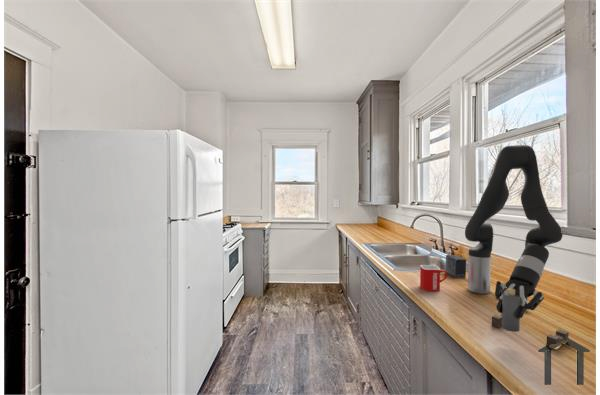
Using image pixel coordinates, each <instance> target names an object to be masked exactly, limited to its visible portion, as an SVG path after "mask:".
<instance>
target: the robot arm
mask: <svg viewBox="0 0 600 395" xmlns="http://www.w3.org/2000/svg"><path fill="white" fill-rule="evenodd" d="M518 169H520V170H521V171H522V173H523V175H524V183H523V187H522V190H521V194H520V202H521V206H522V208H523V211H524V215H525V217H526V219H527V220H529V221H536V222H537V224H538V226H535V227H532V228H531V229H530V230H529V231H528V232H527V234H526V235H525V243H524V250H523V251H522V252H521V256H520V258H519V259H518V260H517V262H516V264H515V266H514V268H513V270H512V272H511V274H510V277H509V278H508V279H509V280H507V281H506V282H501V281H499V280H498V281H496V283H495V284H496V285H495V291H494V296H495V297H496V299H497V300H498V302H497V304H496V306H495V307H496V310H497V312H498V313H499V314H501V313H502V298H503V295H502V290H504V288H505V287H506V288H507V289H506V290H505V291H504V293H508V288H512V289H515V294H517V295H519V296H520V304H521V305H520V306H519V307H518V309H517V311H516V313H515V317H516V318H517V319H520V320H521V319H522V318H523V317H524V315H525V312H526V311H527V310H530V311H534V310H535V309H536V308H537V307H538V306H539V305H540V304H541V303H542V302H543V301H544V299H545V296H544V295H543V293H542V292H541V291H536V288H537V286H538V284H539V282H540V280H541V278H542V276H543V272H544V269H545V266H546V263H547V261H548V259H549V256H550V252H549V250H548V249H547V248H546V246H548V245H552V244H556V243H559V242H561V241H562V239H563V235H564V233H563V232H562V233H563V234H562V233H561V229H562V228H561V227H562V226H561V225H560V224H559V223H558V221H556V219H555V218H554V216H553V215H552V214H551V213H550V211H549V208H548V205H547V202H546V199H545V197H544V195H543V190H542V186H541V185H542V184H541V179H540V172H539V166H538V159H537V155H536V151H535V150H534V148H533V147H532V146H531V145H528V144H520V145H519V144H518V145H507V146H504V147H502V148H501V149H500V152H498V156H497V158H496V160H495V164H494V166H493V171H492V173H491V175H490V178H489V179H488V180H489V181H488V182H487V185H486V187H485V189H484V191H483V193H482V195H481V197H480V200H479V203H478V205H477V206H476V209H475V211H474V213H473V214H472V216H471V217H470V219H469V220H468V222H467V223H466V227H465V230H464V236H465V239H466V240H467V241H469V242H473V243H474V242H476V243H478V244H476V245H475V246H473V247H469V249H468V258H467V259H468V260H467V262H468V263H467V265H468V268H467V269H468V270H467V290H468V291H469V292H472V293H476V294H479V295H480V294H481V295H485V294H490V293H491V279H492V278H491V257H492V256H491V254H492V251H493V244H494V227H493V225H492V224H491V223H490V222H487V221H488V220H489V219H491V218H493V217H494V216H495V215H496V214H498V213H499V212H500V211H502V209H504V206H505V205H506V203H507V201H508V199H509V197H510V190H509V187H508V184H507V178H508V176H509V173H510V172H511V171H512V170H518ZM531 296H533V297H532V298H531V299H530V300H529V301H528V299H529V297H531Z"/></svg>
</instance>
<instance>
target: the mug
mask: <svg viewBox="0 0 600 395" xmlns="http://www.w3.org/2000/svg"><path fill="white" fill-rule="evenodd" d="M419 267H420V268H419V269H420V274H419V275H420V277H419V278H420V279H419V280H420V281H419V282H420V283H419V284H420V285H419V286H420V288H421V289H422V291H424V290H425V292H440V291H441V289H440V288H441V283H442V282H444V281H445V280H446V279H447V278H448V277H447V275H448V274H447V272H446V269H445V270H444V269H441V268H440V267H439V266H438V265H435V264H433V265H432V264H420V265H419ZM441 273H444V277H443V278H441Z"/></svg>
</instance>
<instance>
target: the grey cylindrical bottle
mask: <svg viewBox="0 0 600 395" xmlns="http://www.w3.org/2000/svg"><path fill="white" fill-rule="evenodd" d="M519 306H520V296H519V295H517V294H515V289H512V288H508V293H503V298H502V327H501V329H503V330H505V331H508V332H512V333H513V332H514V333H517V332H520V321H521V318H520V319H517V318H516V317H515V313H516V311H517V309H518V307H519Z"/></svg>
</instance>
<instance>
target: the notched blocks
mask: <svg viewBox="0 0 600 395" xmlns="http://www.w3.org/2000/svg"><path fill="white" fill-rule="evenodd" d="M491 326H492V327H495V328H497V329H500V328H502V313H500V315H499V314H498V315H497V314H494V315H491ZM569 335H570V334H569V331H566V330H562V329H561V328H560V329H557V330H555V335H554V334H552V333H550V334H548V335H546V343H545V344H546V346H549V345H551V344H557V343H560V341H564V340H568V341H569Z"/></svg>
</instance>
